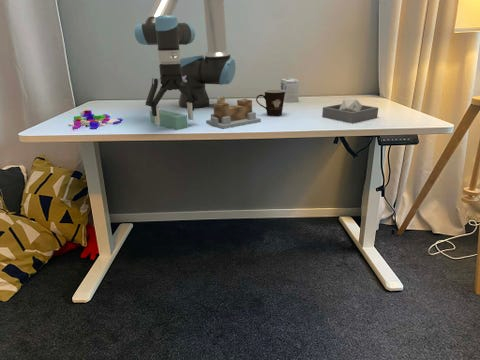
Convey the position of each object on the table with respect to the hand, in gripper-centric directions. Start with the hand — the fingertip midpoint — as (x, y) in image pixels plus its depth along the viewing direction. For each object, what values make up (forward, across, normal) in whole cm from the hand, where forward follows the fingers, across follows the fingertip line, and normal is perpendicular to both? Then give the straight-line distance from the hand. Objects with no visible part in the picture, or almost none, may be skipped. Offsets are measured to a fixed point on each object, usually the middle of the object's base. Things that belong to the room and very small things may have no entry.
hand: (174, 122), depth 137 cm
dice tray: (+2, +64, -30) cm, 71 cm away
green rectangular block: (+2, 0, +6) cm, 7 cm away
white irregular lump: (+2, +64, -30) cm, 71 cm away
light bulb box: (+2, +72, +15) cm, 74 cm away
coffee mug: (+2, +43, -5) cm, 44 cm away
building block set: (+3, -21, +30) cm, 37 cm away
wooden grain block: (+1, +22, -7) cm, 23 cm away
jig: (+2, +22, -7) cm, 23 cm away
